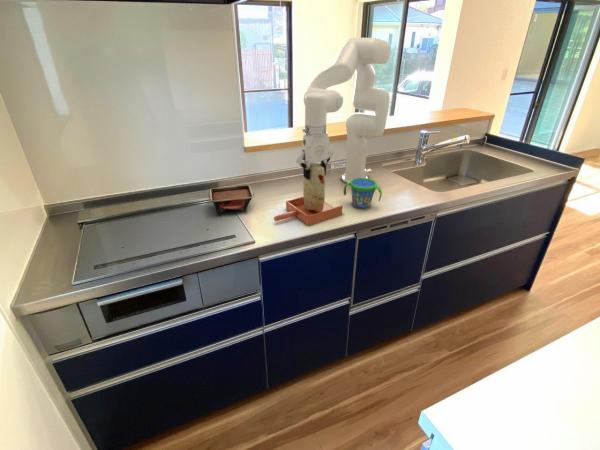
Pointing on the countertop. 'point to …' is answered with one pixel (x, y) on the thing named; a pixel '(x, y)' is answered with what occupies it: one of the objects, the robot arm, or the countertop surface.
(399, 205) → the countertop surface
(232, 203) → the baking dish
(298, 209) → the scoop
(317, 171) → the food model
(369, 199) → the snack cup
